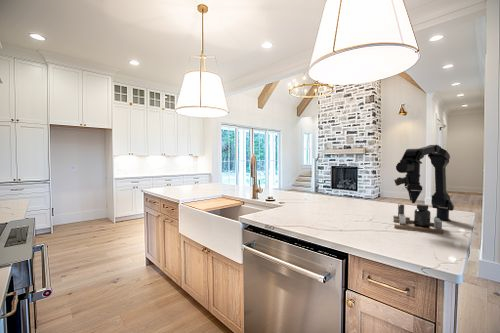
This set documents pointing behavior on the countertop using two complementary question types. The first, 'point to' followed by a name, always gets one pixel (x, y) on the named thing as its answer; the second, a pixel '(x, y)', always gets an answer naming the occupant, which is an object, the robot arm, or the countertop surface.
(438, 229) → the press base
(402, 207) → the bar
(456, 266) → the countertop surface
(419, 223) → the supplement bottle
